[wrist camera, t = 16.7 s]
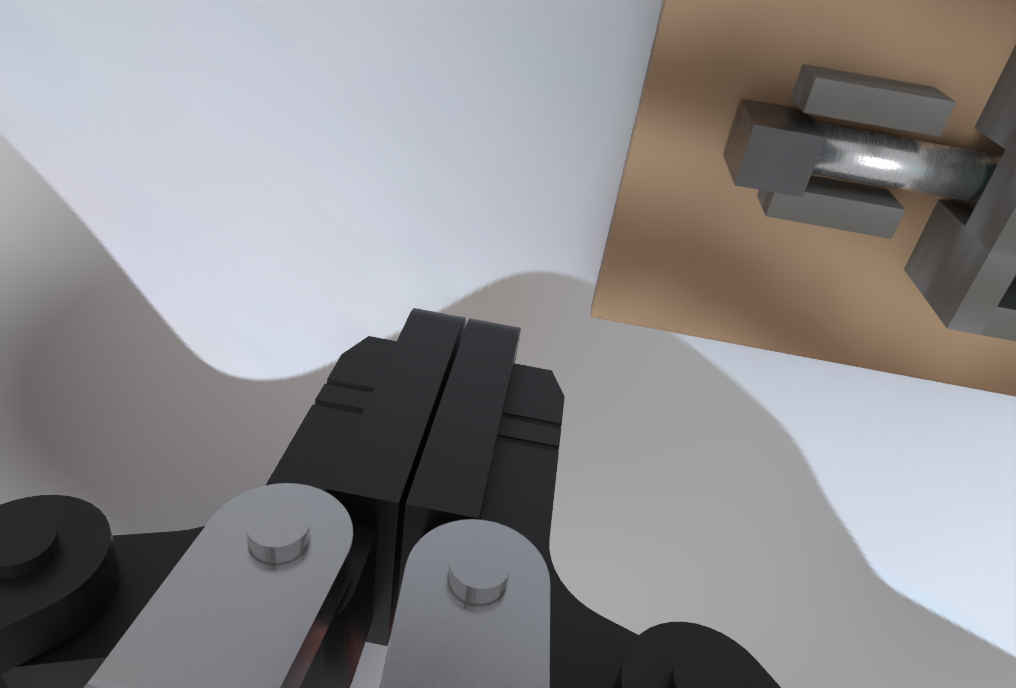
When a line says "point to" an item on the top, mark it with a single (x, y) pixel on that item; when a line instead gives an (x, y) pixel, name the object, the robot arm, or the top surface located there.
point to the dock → (824, 188)
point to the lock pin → (845, 156)
